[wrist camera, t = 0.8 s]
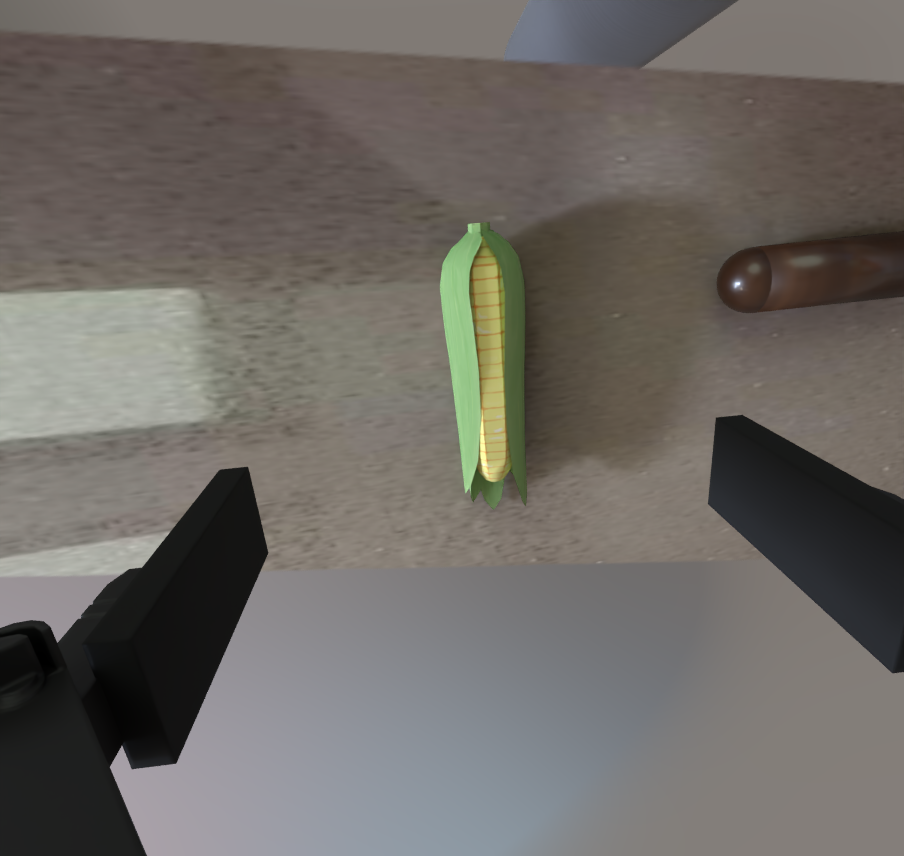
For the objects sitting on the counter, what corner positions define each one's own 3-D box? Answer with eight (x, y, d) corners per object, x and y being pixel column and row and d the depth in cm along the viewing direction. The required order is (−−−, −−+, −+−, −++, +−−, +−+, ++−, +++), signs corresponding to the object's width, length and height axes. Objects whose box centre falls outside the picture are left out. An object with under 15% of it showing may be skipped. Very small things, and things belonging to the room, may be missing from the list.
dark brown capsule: (702, 311, 36) (735, 320, 33) (706, 248, 35) (741, 251, 31) (905, 289, 37) (960, 296, 33) (917, 226, 35) (976, 226, 32)
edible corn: (515, 219, 34) (530, 218, 29) (527, 503, 41) (540, 535, 36) (433, 227, 33) (435, 227, 29) (459, 510, 41) (464, 544, 36)
